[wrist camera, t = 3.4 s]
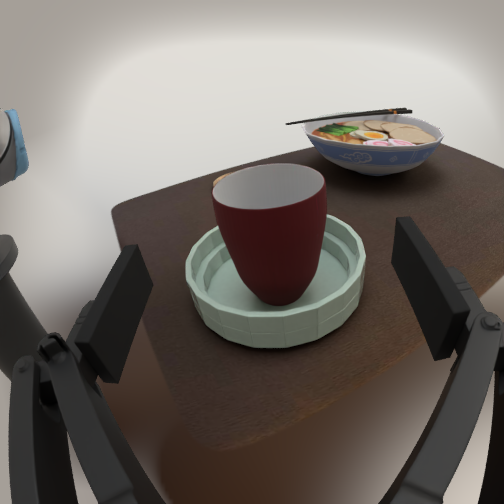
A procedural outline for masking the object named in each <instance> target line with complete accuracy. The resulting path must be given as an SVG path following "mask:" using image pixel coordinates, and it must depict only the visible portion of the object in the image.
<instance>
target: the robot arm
mask: <svg viewBox="0 0 504 504" xmlns="http://www.w3.org/2000/svg"><path fill="white" fill-rule="evenodd" d="M28 166H29V162H28V157H27V153H26V149H25V145H24V140H23V135H22V131H21V127H20V123H19V119H18V115H17V112H16V110H14V109H12V110H6V111H3V110H2V109H0V186H2V185H4V184H6V183H7V182H9V181H13V180H15V179H16V178H17V177H18V176H19V175H21V174H23V173H25V172H26V171H27V169H28ZM391 263H392V265H393V267H394V269H395V271H396V273H397V275H398V278H399V280H400V282H401V284H402V286H403V288H404V290H405V293H406V295H407V297H408V299H409V301H410V304H411V306H412V308H413V310H414V313H415V315H416V317H417V320H418V322H419V324H420V327H421V329H422V331H423V334H424V336H425V339H426V341H427V344H428V346H429V348H430V351H431V354H432V356H433V359H434V361H437V360H441V359H446V358H450V356H451V354H452V352H453V350H454V348H455V350H456V353H457V355H458V356H457V358H456V360H455V362H454V364H453V366H452V368H451V370H450V371H451V373H450V376H449V377H448V380H447V382H446V385H445V387H444V389H443V391H442V394H441V396H440V398H439V400H438V402H437V405H436V407H435V409H434V411H433V413H432V415H431V417H430V419H429V421H428V423H427V425H426V427H425V429H424V431H423V433H422V435H421V437H420V438H419V440H418V442H417V444H416V446H415V447H414V449H413V451H412V453H411V455H410V456H409V458H408V459H407V461H406V463H405V465H404V466H403V468H402V469H401V471H400V473H399V474H398V476H397V477H396V479H395V481H394V482H393V484H392V485H391V487H390V488H389V490H388V491H387V493H386V494H385V495H384V497H383V498H382V500H381V501H380V502H379V503H378V504H443V496H444V493H445V491H446V489H447V487H448V486H449V484H450V482H451V479H452V478H453V476H454V474H455V472H456V469H457V467H458V465H459V463H460V461H461V459H462V456H463V454H464V452H465V450H466V447H467V445H468V443H469V440H470V438H471V436H472V433H473V430H474V428H475V425H476V422H477V420H478V417H479V414H480V411H481V409H482V406H483V403H484V400H485V397H486V394H487V391H488V387H489V384H490V381H491V377H492V374H493V371H495V384H494V385H495V386H494V405H493V417H492V427H491V435H490V443H489V450H488V456H487V462H486V469H485V474H484V479H483V484H482V488H481V492H480V497H479V501H478V504H504V323H503V322H502V321H501V319H500V318H498V316H497V315H495V314H493V313H491V312H487V311H486V310H485V309H484V307H483V305H482V304H481V302H480V300H479V299H478V297H477V295H476V294H475V292H474V291H473V289H472V287H471V286H470V284H469V283H468V282H467V280H466V278H465V277H464V275H463V274H462V273H461V272H460V271H459V270H458V269H456V268H455V267H447V268H445V266H444V265H443V263H442V262H441V260H440V259H439V257H438V256H437V254H436V253H435V251H434V250H433V248H432V247H431V245H430V244H429V242H428V241H427V240H426V238H425V237H424V235H423V234H422V232H421V231H420V230H419V228H418V227H417V225H416V224H415V223H414V221H413V220H412V219H411V217H397V218H396V226H395V236H394V244H393V252H392V260H391ZM152 287H153V283H152V280H151V278H150V275H149V273H148V270H147V268H146V265H145V263H144V260H143V257H142V255H141V252H140V250H139V247H138V244H136V245H128V246H125V247H124V248H123V250H122V252H121V253H120V255H119V257H118V259H117V260H116V262H115V264H114V266H113V267H112V269H111V271H110V273H109V274H108V276H107V278H106V280H105V282H104V284H103V285H102V287H101V289H100V291H99V293H98V295H97V297H96V298H95V300H94V301H89V302H88V303H87V304H86V305H85V306H84V307H83V309H82V311H81V313H80V314H79V318H77V320H76V322H75V325H74V326H73V328H72V330H71V332H70V334H69V336H68V338H67V340H66V342H65V341H64V340H63V338H62V337H61V335H60V334H59V333H56V332H55V333H50V334H47V335H46V336H44V337H43V338H42V339H41V340H40V342H39V343H38V346H37V352H38V353H39V355H40V356H41V357H42V358H43V360H42V361H38V362H36V361H35V360H34V358H33V357H32V356H30V355H25V356H23V357H21V358H20V359H19V360H17V362H16V363H15V365H14V367H13V373H12V383H11V394H10V410H9V474H10V488H11V499H12V504H78V500H77V495H76V490H75V485H74V479H73V474H72V467H71V461H70V454H69V446H68V438H67V431H68V434H69V437H70V440H71V442H72V445H73V447H74V450H75V452H76V455H77V457H78V460H79V462H80V464H81V467H82V469H83V471H84V474H85V476H86V478H87V480H88V482H89V484H90V487H91V489H92V491H93V493H94V495H95V497H96V499H97V501H98V504H166V503H165V502H164V501H163V499H162V498H161V496H160V495H159V493H158V492H157V490H156V489H155V487H154V486H153V484H152V483H151V481H150V479H149V478H148V476H147V475H146V473H145V471H144V470H143V468H142V467H141V465H140V463H139V462H138V460H137V458H136V457H135V455H134V453H133V451H132V450H131V448H130V446H129V444H128V443H127V441H126V439H125V438H124V435H123V433H122V432H121V430H120V428H119V426H118V424H117V422H116V420H115V418H114V416H113V414H112V412H111V410H110V408H109V406H108V404H107V402H106V400H105V398H104V396H103V394H102V392H101V389H100V387H99V385H98V384H97V383H96V379H97V376H98V375H99V377H100V378H101V379H102V380H103V382H106V383H117V384H118V383H119V380H120V377H121V374H122V371H123V368H124V365H125V362H126V359H127V356H128V353H129V350H130V347H131V344H132V341H133V339H134V336H135V333H136V330H137V327H138V325H139V322H140V319H141V316H142V314H143V311H144V308H145V306H146V303H147V300H148V298H149V295H150V293H151V290H152Z"/></svg>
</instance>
